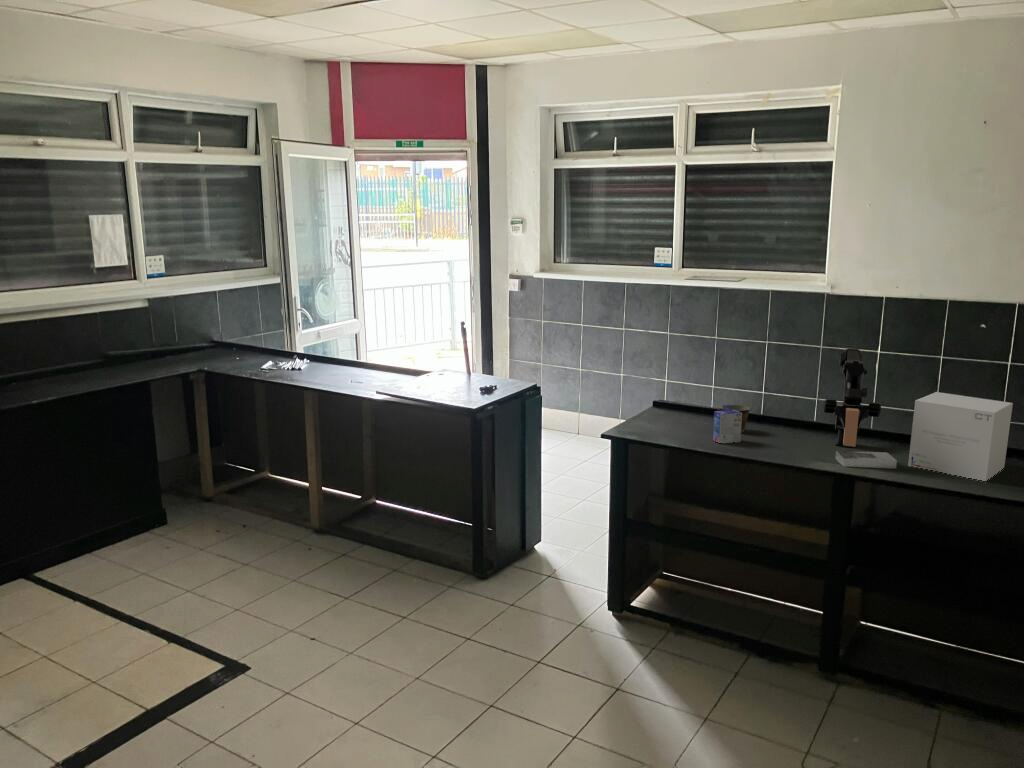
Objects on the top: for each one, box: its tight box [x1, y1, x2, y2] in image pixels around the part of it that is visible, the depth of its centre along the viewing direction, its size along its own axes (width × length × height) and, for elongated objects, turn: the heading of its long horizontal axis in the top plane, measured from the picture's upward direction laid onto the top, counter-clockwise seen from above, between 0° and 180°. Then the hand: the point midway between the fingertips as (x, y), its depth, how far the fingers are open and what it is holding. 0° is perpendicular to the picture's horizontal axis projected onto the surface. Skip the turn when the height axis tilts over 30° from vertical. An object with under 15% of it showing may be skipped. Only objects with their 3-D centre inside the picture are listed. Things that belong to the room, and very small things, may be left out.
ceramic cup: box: [716, 404, 750, 433], centre depth 333 cm, size 13×10×10 cm
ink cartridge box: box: [712, 404, 742, 444], centre depth 316 cm, size 10×6×14 cm, turn 106°
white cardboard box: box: [907, 391, 1014, 482], centre depth 283 cm, size 25×21×24 cm
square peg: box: [843, 408, 860, 448], centre depth 287 cm, size 4×4×13 cm
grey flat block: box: [835, 450, 898, 470], centre depth 289 cm, size 10×18×3 cm, turn 84°
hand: (851, 427), depth 286 cm, fingers closed on square peg, 4 cm apart
